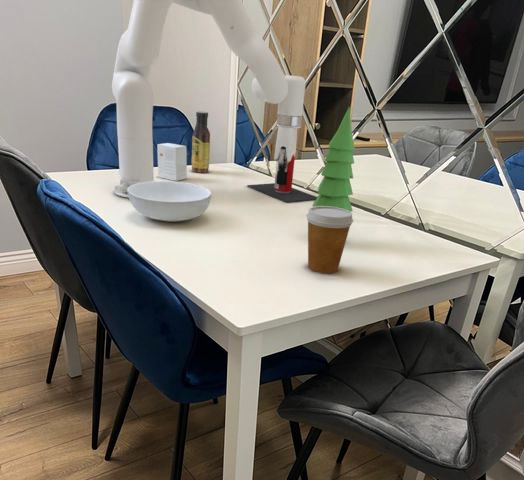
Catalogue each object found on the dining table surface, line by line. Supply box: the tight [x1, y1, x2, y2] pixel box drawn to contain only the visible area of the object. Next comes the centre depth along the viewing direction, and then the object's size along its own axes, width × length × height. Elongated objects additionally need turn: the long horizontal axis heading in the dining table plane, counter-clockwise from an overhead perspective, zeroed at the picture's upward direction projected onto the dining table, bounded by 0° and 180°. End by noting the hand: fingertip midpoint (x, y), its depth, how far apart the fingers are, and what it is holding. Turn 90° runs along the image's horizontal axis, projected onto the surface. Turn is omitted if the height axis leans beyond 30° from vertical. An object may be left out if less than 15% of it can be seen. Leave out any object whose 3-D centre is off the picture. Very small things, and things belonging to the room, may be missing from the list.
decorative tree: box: [312, 105, 356, 213], centre depth 123 cm, size 10×9×30 cm
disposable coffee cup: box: [305, 206, 354, 274], centre depth 110 cm, size 10×10×12 cm
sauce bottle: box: [191, 110, 211, 174], centre depth 187 cm, size 7×6×20 cm
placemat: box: [247, 182, 318, 204], centre depth 172 cm, size 22×13×1 cm, turn 34°
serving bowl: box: [128, 180, 212, 223], centre depth 136 cm, size 21×21×7 cm
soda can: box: [274, 154, 296, 193], centre depth 169 cm, size 6×6×12 cm
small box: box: [156, 142, 188, 182], centre depth 176 cm, size 8×6×10 cm
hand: (283, 182), depth 170 cm, fingers closed on soda can, 5 cm apart
